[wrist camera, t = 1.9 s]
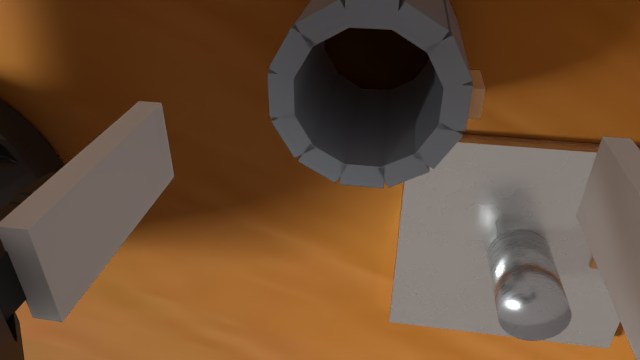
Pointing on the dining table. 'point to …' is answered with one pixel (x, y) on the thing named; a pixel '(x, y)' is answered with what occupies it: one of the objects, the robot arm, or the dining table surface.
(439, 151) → the sleeve
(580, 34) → the dining table surface
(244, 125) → the dining table surface
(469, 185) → the square plate
